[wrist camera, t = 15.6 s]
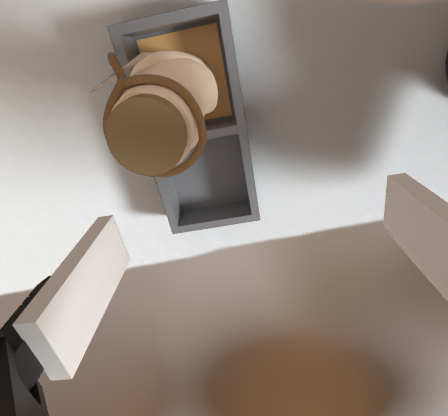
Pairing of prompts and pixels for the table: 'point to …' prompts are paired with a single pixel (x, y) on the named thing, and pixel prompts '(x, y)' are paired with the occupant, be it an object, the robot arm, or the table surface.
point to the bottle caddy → (215, 121)
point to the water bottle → (159, 111)
